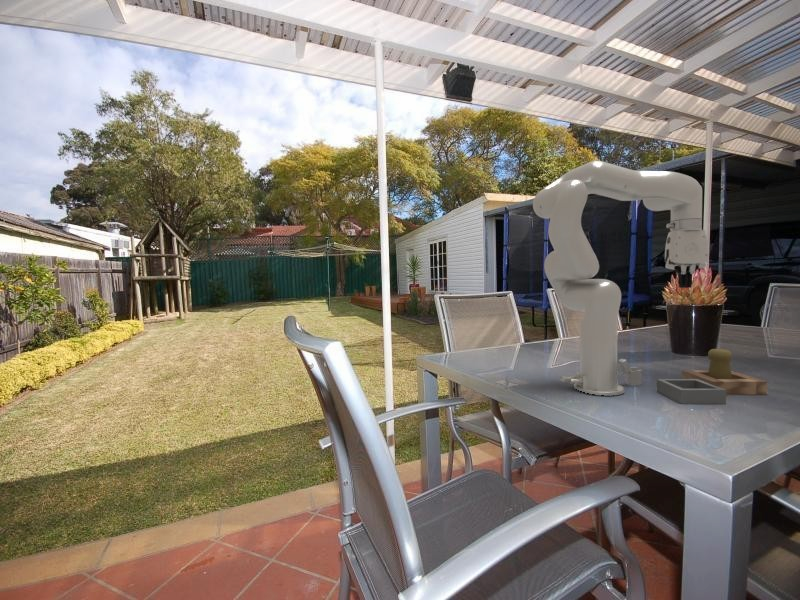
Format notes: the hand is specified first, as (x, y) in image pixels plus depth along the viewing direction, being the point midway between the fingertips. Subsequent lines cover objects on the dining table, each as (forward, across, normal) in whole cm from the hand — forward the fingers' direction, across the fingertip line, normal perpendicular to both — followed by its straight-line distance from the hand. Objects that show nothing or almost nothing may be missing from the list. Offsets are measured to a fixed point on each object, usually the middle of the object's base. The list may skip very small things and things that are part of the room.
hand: (685, 287), depth 115 cm
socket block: (+28, +4, -9) cm, 30 cm away
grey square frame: (+28, -9, -18) cm, 35 cm away
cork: (+28, +4, -9) cm, 30 cm away
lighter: (+29, -18, -6) cm, 35 cm away
